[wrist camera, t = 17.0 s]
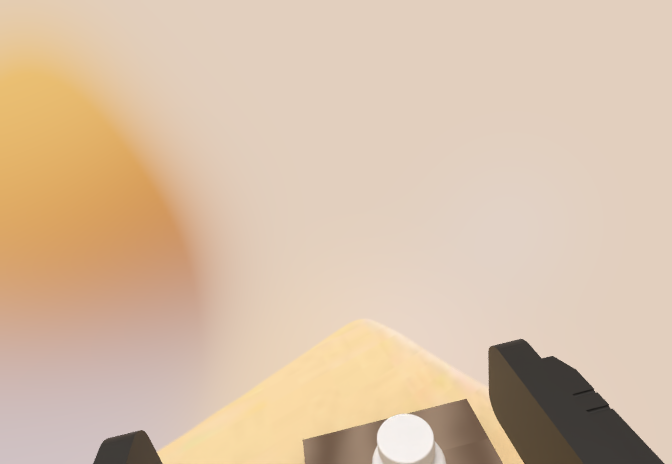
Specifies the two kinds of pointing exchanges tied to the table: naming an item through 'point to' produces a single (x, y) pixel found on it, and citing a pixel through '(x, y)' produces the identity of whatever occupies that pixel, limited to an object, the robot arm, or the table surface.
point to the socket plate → (445, 421)
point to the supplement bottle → (406, 442)
